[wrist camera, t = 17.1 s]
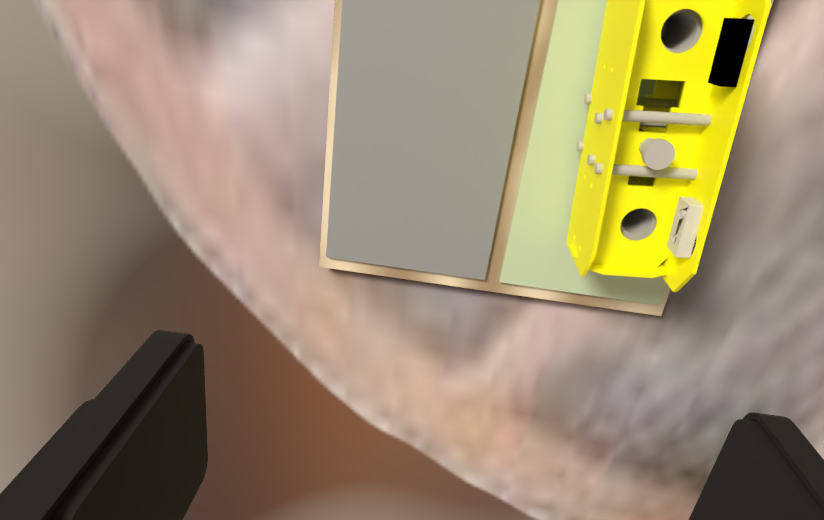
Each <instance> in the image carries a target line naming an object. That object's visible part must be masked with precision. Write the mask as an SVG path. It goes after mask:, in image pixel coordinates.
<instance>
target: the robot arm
mask: <svg viewBox="0 0 824 520" xmlns="http://www.w3.org/2000/svg"><path fill="white" fill-rule="evenodd" d="M206 428H207V427H206V403H205V376H204V351H203V347H202V345H201V344H196V343H194V339H193V336H192V335H190V334H185V333H178V332H171V331H164V330H157V331H155V332H154V333H153V334H152V335H151V336H150V337H149V338H148V339H147V340H146V342H145V343H144V344H143V345H142V346H141V347H140V348H139V350H138V351H137V352H136V353H135V354H134V355H133V356H132V357H131V359H130V360H129V361H128V362H127V363H126V364H125V365H124V366H123V367H122V369H121V370H120V371H119V372H118V373H117V374H116V375H115V376H114V378H113V379H112V380H111V381H110V382H109V383H108V384H107V386H106V387H105V388H104V389H103V390H102V391H101V392H100V393H99V395H98V396H97V397H96V398H95V399H92V400H89V401H86V402H85V403H84V404H82V405H81V406H80V407H79V408H78V409H77V410H76V411H75V412H74V413H73V414H72V416H71V417H70V418H69V419H68V420H67V421H66V422H65V423H64V424H63V426H62V427H61V428H60V429H59V430H58V431H57V432H56V433H55V434H54V435H53V436H52V438H51V439H50V440H49V441H48V442H47V443H46V444H45V445H44V446H43V447H42V449H41V450H40V451H39V452H38V453H37V454H36V455H35V456H34V458H33V459H32V460H31V461H30V462H29V463H28V464H27V465H26V466H25V468H23V470H22V471H21V472H20V473H19V474H18V475H17V476H16V477H15V478H14V479H13V481H12V482H11V483H10V484H9V485H8V486H7V487H6V488H5V489H4V490H3V492H2V493H1V494H0V520H183V518H184V516H185V514H186V512H187V510H188V508H189V506H190V504H191V502H192V500H193V498H194V496H195V494H196V492H197V491H198V489H199V487H200V485H201V483H202V481H203V478H204V476H205V473H206V468H207V462H208V453H207V429H206ZM689 520H824V460H823V459H822V457H821V456H820V455H819V454H818V452H817V451H816V450H815V449H814V447H813V446H812V445H811V444H810V442H809V441H808V440H807V439H806V438H805V436H804V435H803V434H802V433H801V431H800V430H799V429H798V428H797V426H796V425H795V424H794V423H793V422H792V421H791V420H790V419H789V418H786V417H782V416H775V415H768V414H760V413H748V414H747V415H746V416H745V417H744V418H743V420H742V419H740V420H737V421H736V422H735V423H734V424H733V426H732V428H731V430H730V432H729V434H728V436H727V439H726V441H725V443H724V445H723V447H722V449H721V451H720V454H719V456H718V458H717V460H716V462H715V464H714V467H713V469H712V471H711V473H710V475H709V477H708V479H707V482H706V484H705V486H704V488H703V490H702V492H701V495H700V497H699V499H698V501H697V503H696V505H695V507H694V510H693V512H692V514H691V516H690V518H689Z"/></svg>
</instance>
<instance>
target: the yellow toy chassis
mask: <svg viewBox="0 0 824 520" xmlns="http://www.w3.org/2000/svg"><path fill="white" fill-rule="evenodd" d="M770 7H771V0H607V4H606V10H605V15H604V21H603V27H602V33H601V39H600V45H599V51H598V57H597V63H596V69H595V75H594V81H593V87H592V92H591V94H585V98H584V104H589V110H588V116H587V122H586V128H585V134H584V140H583V142H581V141H578V142H577V148H576V149H577V151H582V152H581V158H580V164H579V170H578V175H577V181H576V187H575V193H574V199H573V205H572V211H571V217H570V223H569V229H568V235H567V241H566V244H567V246H568V248H569V250H570V253H571V255H572V257H573V260H574V262H575V264H576V267H577V269H578V271H579V273H580V276H581V277H585V275H586V274H587V272H588V270H590V271H593V272H597V273H600V274H604V275H616V276H630V277H644V278H655V277H659V276H662V278H663V279H664V280H665V282H666V283H667V284H668V286H669V287H670V289H671V290H672V291H673V292H678V291H679V290H680V289H681V288H682V287H683V286H684V285H685V284H686V283H687V282H688V281H689V280H690V279H691V278H692V277H693V276H694V275H695V274H696V272H697V269H698V265H699V261H700V258H701V254H702V251H703V247H704V244H705V240H706V236H707V233H708V229H709V226H710V222H711V218H712V215H713V211H714V208H715V204H716V201H717V197H718V193H719V190H720V186H721V183H722V179H723V176H724V172H725V168H726V165H727V161H728V158H729V154H730V151H731V147H732V143H733V140H734V136H735V133H736V129H737V125H738V122H739V118H740V115H741V111H742V108H743V104H744V100H745V97H746V93H747V90H748V86H749V83H750V79H751V75H752V72H753V68H754V65H755V61H756V58H757V54H758V50H759V47H760V43H761V40H762V36H763V33H764V29H765V25H766V22H767V18H768V15H769V11H770ZM750 15H752V17H753V19H747V18H748V17H749V16H750ZM665 22H667V27H666V31H665V33H664V35H663V36H662V37H661V30H662V27H663V25H664V23H665ZM753 24H754V32H753V37H752V40H751V43H750V46H749V48H748V49H747V46H748V42H749V39H750V35H751V31H752V28H753ZM746 50H747V51H746ZM641 79H654V80H656V82H655V87H654V91H653V95H646V97H638V94H639V89H640V84H641ZM696 235H697V237H696ZM695 238H696V246H695V249H694V252H693V254H692V255H691V253H692V249H693V245H694V242H695Z"/></svg>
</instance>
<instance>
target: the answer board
mask: <svg viewBox="0 0 824 520" xmlns="http://www.w3.org/2000/svg"><path fill="white" fill-rule="evenodd" d="M773 1H774V0H771V7H772V4H773ZM606 4H607V0H335V8H334V25H333V42H332V59H331V76H330V93H329V110H328V127H327V144H326V161H325V178H324V195H323V212H322V229H321V246H320V263H319V267H324V268H331V269H338V270H345V271H352V272H359V273H366V274H373V275H380V276H387V277H394V278H400V279H407V280H414V281H421V282H428V283H435V284H442V285H449V286H456V287H463V288H470V289H477V290H483V291H490V292H497V293H504V294H511V295H518V296H525V297H532V298H539V299H546V300H553V301H560V302H567V303H573V304H580V305H587V306H594V307H601V308H608V309H615V310H622V311H629V312H636V313H643V314H650V315H657V316H661V315H662V312H663V309H664V307H665V304H666V301H667V298H668V295H669V293H670V290H671V289H670V287H669V286H668V284H667V283H666V282H665V280H664V279H663V278H662V276H659V277H655V278H644V277H630V276H616V275H604V274H600V273H597V272H593V271H590V270H588V272H587V274H586V275H585V277H581V276H580V273H579V271H578V269H577V267H576V264H575V262H574V260H573V257H572V255H571V253H570V250H569V248H568V246H567V244H566V241H567V235H568V229H569V223H570V217H571V211H572V205H573V199H574V193H575V187H576V181H577V175H578V170H579V164H580V158H581V152H582V151H577V149H576V148H577V142H578V141H581V142H583V140H584V134H585V128H586V122H587V116H588V110H589V104H584V98H585V94H591V92H592V87H593V81H594V75H595V69H596V63H597V57H598V51H599V45H600V39H601V33H602V27H603V21H604V15H605V10H606ZM771 7H770V10H771ZM769 12H770V11H769ZM747 19H753V17H752V15H750V16H749V17H748V18H747ZM666 27H667V22H665V23H664V25H663V27H662V30H661V37H662V36H663V35H664V33H665V31H666ZM753 32H754V24H753V28H752V31H751V35H750V39H749V42H748V46H747V49H748V48H749V46H750V43H751V40H752V37H753ZM746 51H747V50H746ZM655 82H656V80H654V79H641V84H640V89H639V94H638V97H646V95H653V91H654V87H655Z"/></svg>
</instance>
